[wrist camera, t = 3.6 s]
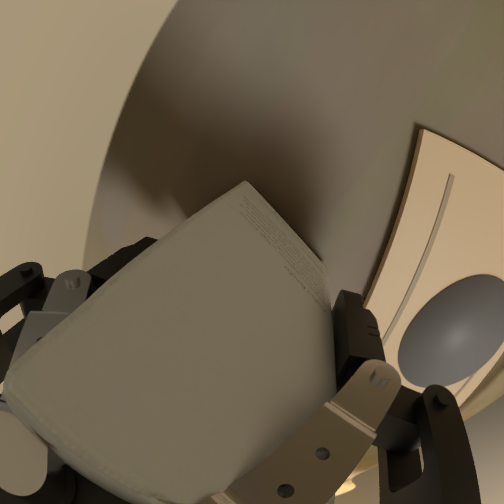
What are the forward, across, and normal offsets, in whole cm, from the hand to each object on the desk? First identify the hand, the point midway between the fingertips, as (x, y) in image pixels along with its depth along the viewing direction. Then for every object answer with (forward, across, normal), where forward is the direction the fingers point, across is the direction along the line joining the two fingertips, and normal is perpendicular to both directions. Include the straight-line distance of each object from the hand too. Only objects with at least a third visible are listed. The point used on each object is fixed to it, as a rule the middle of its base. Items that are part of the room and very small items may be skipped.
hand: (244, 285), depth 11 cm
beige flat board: (+4, -12, +1) cm, 13 cm away
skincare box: (+4, 0, 0) cm, 4 cm away
